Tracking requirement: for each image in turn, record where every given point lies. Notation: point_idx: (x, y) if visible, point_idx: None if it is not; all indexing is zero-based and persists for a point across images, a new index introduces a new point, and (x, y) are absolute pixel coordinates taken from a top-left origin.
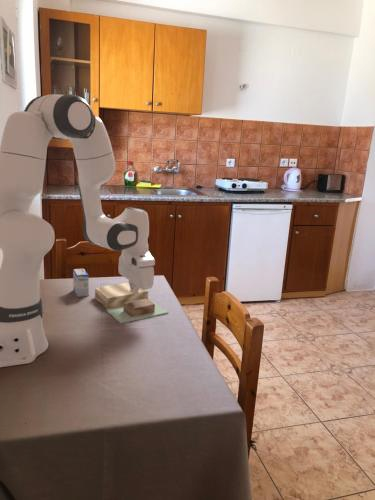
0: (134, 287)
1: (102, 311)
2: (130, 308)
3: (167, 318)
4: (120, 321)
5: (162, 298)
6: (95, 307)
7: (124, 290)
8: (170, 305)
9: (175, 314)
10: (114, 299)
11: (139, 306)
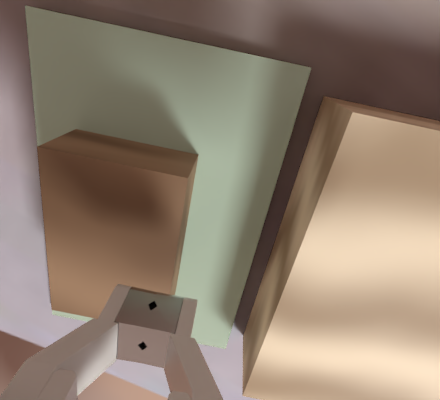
0: (57, 348)
1: (316, 29)
2: (50, 148)
3: (2, 272)
4: (37, 13)
5: (226, 389)
6: (430, 29)
7: (376, 319)
8: (135, 364)
9: (32, 321)
10: (320, 173)
11: (55, 221)
